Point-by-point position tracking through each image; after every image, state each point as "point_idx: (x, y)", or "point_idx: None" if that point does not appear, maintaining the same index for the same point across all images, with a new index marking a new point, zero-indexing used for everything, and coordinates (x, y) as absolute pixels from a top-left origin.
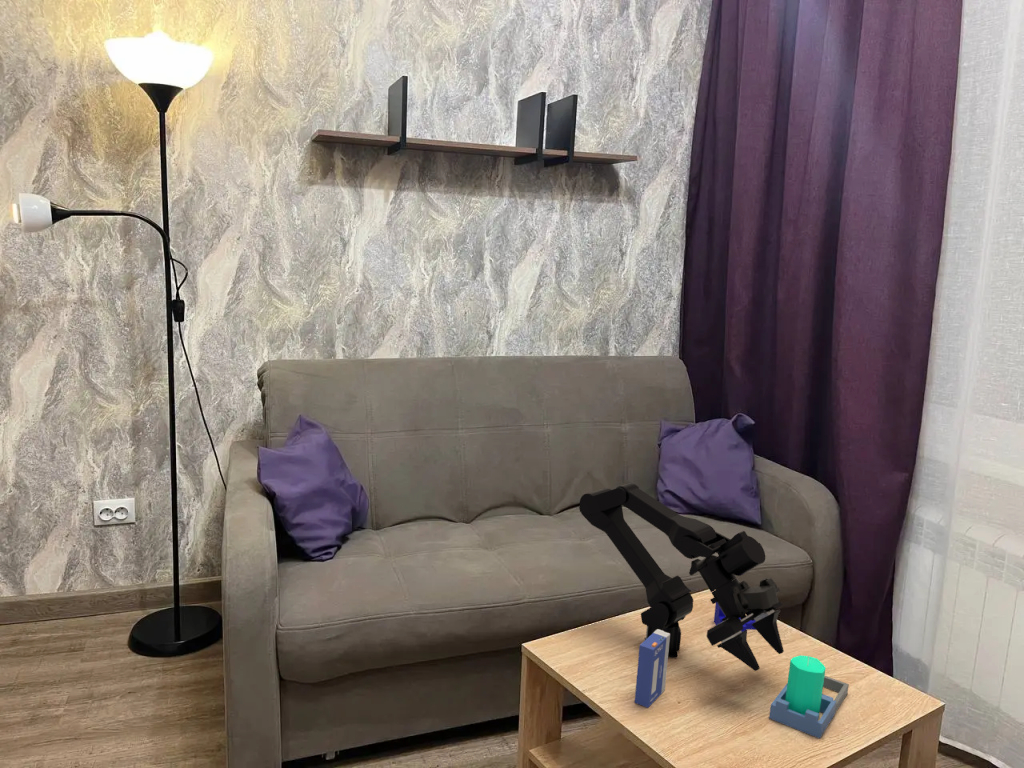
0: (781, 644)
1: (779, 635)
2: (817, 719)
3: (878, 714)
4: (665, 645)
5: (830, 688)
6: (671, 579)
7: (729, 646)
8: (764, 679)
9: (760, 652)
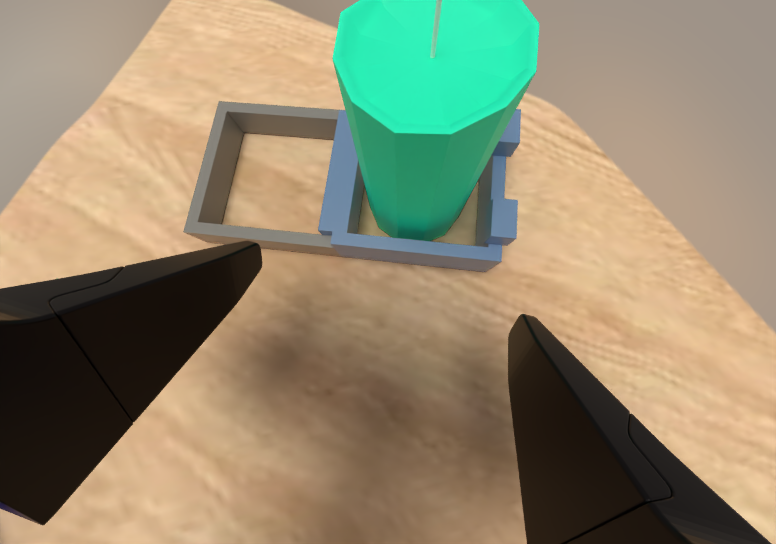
0: (216, 249)
1: (149, 261)
2: None
3: (296, 53)
4: None
5: (234, 160)
6: None
7: None
8: (276, 332)
9: None
